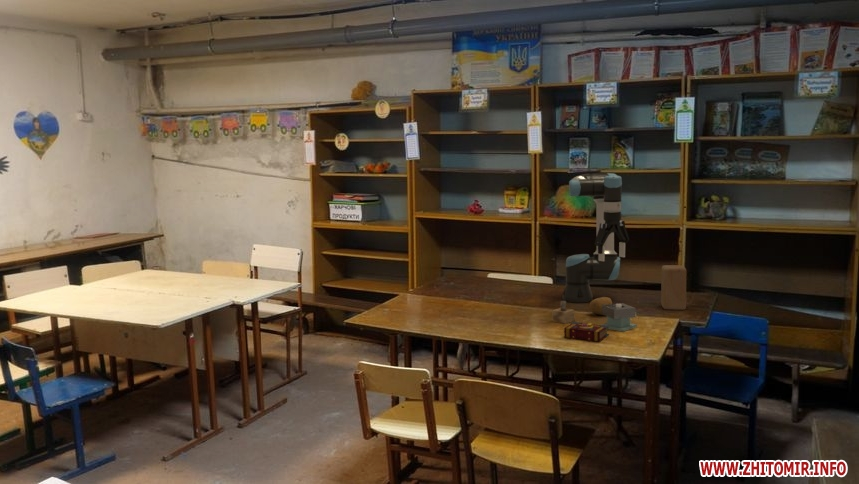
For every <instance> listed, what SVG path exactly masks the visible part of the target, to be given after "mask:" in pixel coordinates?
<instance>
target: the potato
mask: <svg viewBox="0 0 859 484" xmlns="http://www.w3.org/2000/svg"><path fill="white" fill-rule="evenodd" d="M608 304H613V301H612V299H611V298H610V297H606V296H602V297H597V298H595V299H593V300H592V301H590V302H589V311H591V312H592V313H593V314H595V315H601V316H604V315H603V314H602V305H608Z"/></svg>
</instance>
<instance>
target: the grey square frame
mask: <svg viewBox="0 0 859 484" xmlns="http://www.w3.org/2000/svg"><path fill="white" fill-rule="evenodd" d="M616 304H617V303H612V304H608V305H602V314H603V315H602V316H605V317H607V316H608V317H610V318H612V319H622V318H630V319H632V318H636V307H633V306H631V305H628V304H626V303H624V302H622V303H621V302H620V303H619V304H622V308H616Z"/></svg>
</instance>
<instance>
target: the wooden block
mask: <svg viewBox="0 0 859 484" xmlns="http://www.w3.org/2000/svg"><path fill="white" fill-rule="evenodd" d="M660 278H661V285H660V286H661V287H660V290H661V292H660V297H661V298H660V304H661V307H662V308H663V310H671V311H684V310H686V308H687V305H686V304H687V268H686V267H685V266H684V265H682V264H680V265H679V264H678V265H674V264H673V265H668V264H667V265H666V264H665V265H664V264H663V265H662V266H661V277H660Z"/></svg>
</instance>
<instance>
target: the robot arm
mask: <svg viewBox="0 0 859 484" xmlns="http://www.w3.org/2000/svg"><path fill="white" fill-rule="evenodd" d="M622 185H623V180H622V176H620V175H617V174H616V173H612V172H611V173H609V172H606V173H584V174H579V175H577V176H574V177H573V178H571V179H570V180H569V181H568V195H569V196H570V197H593V199H592V200H593V201H594V202H595V204H596V205H595V208H596V211H595V212H596V213H595V214H596V237H595V240H594V243H593V244H594V245H595V246H596V249H595V252H593V256H590V254H588V253H580V254H572V255H570V256H568V257H567V258H566V260H565V287H564V290H563V293H562V301H566V303H576V304H577V303H579V304H580V303H583V304H584V303H590V302H591V301H593V300H594V299H593V297H594V295H593V292H592V290H591V287H590V281H614V280H617V279H618V277H619V274H620V267H621V258H626V245H627V243H629V241H630V236H629V234H628V231H627V228H626V222H625V220H622V192H623V191H622V188H623V187H622ZM615 235H616V236H617V238H618V240H619V241H620V242H619V243H618V244H619V246H618V252H619V253H617V252H616V251H615Z"/></svg>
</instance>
